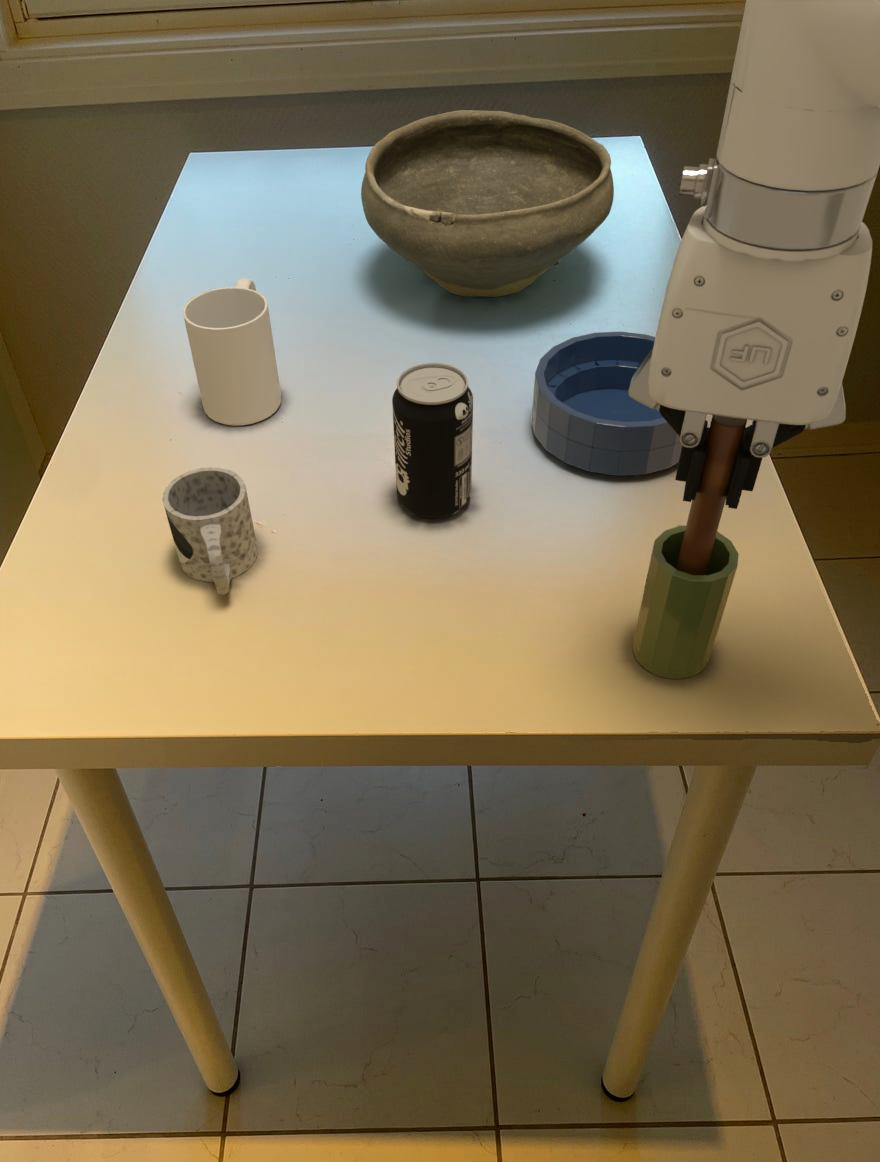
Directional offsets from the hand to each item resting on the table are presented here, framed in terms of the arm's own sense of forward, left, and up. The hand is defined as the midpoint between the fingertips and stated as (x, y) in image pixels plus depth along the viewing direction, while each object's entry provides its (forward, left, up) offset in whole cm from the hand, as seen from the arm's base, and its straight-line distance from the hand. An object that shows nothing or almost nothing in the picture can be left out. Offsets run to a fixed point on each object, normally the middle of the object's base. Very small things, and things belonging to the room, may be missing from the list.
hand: (711, 490), depth 61 cm
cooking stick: (0, 0, -15) cm, 15 cm away
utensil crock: (0, 0, -15) cm, 15 cm away
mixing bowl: (+8, -27, -15) cm, 32 cm away
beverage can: (+22, -13, -16) cm, 30 cm away
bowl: (+27, -54, -16) cm, 62 cm away
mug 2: (+37, 0, -16) cm, 40 cm away
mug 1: (+45, -25, -16) cm, 54 cm away
